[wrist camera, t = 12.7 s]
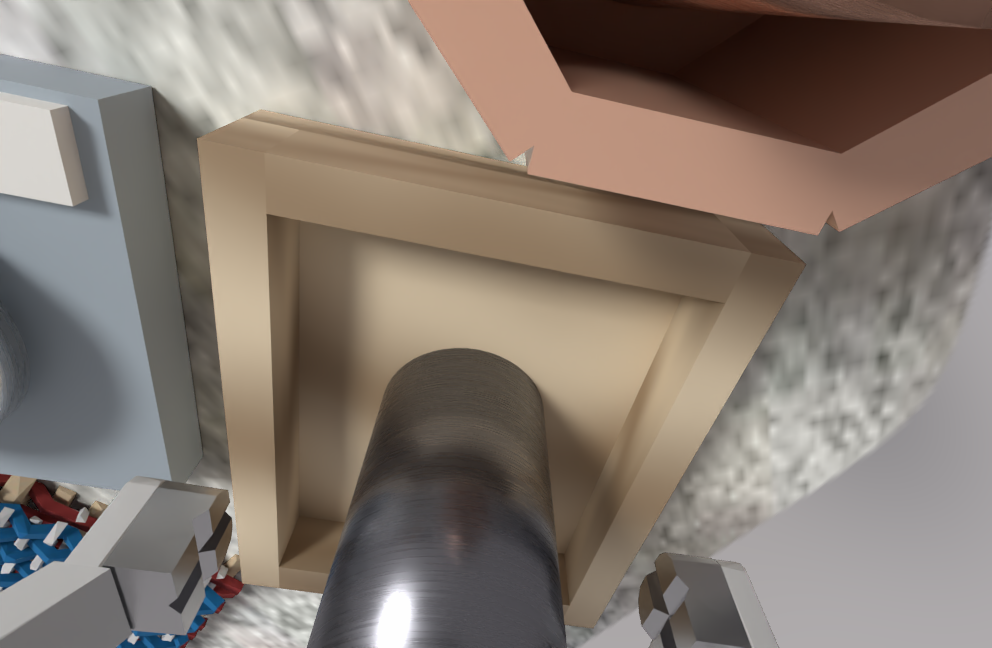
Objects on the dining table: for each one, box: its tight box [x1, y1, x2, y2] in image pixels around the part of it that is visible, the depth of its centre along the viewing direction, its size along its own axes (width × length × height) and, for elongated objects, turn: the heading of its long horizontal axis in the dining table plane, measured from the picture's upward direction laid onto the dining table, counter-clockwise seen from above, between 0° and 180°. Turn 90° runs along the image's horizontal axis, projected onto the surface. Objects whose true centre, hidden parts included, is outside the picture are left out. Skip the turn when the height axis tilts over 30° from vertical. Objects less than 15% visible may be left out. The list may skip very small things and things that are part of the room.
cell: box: [307, 348, 567, 648], centre depth 10 cm, size 4×4×8 cm
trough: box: [197, 110, 806, 628], centre depth 12 cm, size 12×10×2 cm
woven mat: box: [0, 474, 244, 648], centre depth 18 cm, size 10×11×2 cm
